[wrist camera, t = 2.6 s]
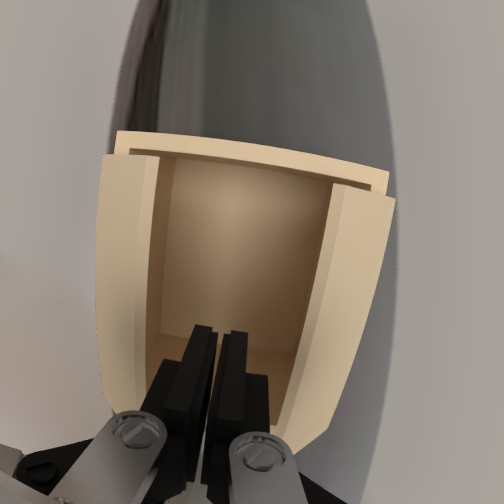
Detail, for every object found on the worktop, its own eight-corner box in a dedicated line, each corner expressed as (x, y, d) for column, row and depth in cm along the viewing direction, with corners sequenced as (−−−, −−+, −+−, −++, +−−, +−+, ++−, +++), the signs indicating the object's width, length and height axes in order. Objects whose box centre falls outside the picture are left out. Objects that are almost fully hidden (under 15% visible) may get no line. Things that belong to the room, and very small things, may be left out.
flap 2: (386, 196, 14) (395, 198, 14) (320, 424, 17) (327, 428, 17) (333, 182, 10) (346, 185, 10) (264, 464, 13) (271, 470, 13)
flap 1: (109, 391, 17) (102, 393, 16) (112, 155, 14) (103, 154, 13) (148, 445, 13) (140, 448, 13) (159, 156, 10) (147, 155, 10)
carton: (298, 357, 27) (315, 436, 17) (153, 334, 27) (111, 404, 17) (337, 173, 23) (389, 171, 14) (170, 147, 23) (117, 130, 13)
